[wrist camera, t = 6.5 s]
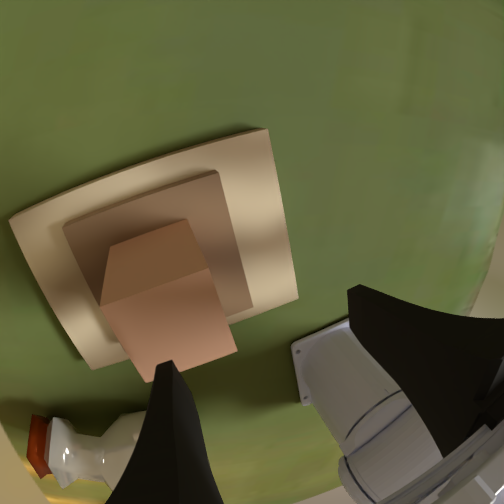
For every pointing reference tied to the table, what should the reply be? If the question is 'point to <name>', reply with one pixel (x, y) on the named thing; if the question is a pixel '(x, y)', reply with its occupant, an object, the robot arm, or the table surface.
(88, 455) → the potion bottle
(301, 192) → the table surface
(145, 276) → the block
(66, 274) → the base board
